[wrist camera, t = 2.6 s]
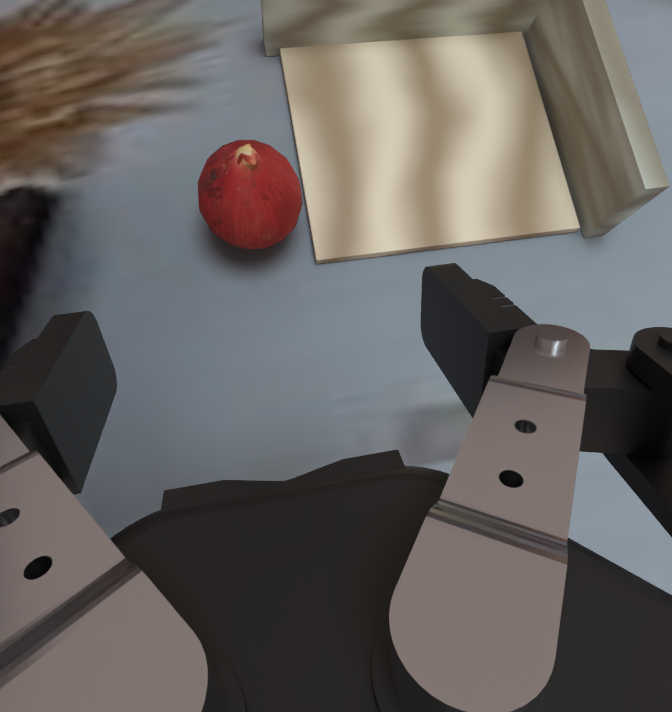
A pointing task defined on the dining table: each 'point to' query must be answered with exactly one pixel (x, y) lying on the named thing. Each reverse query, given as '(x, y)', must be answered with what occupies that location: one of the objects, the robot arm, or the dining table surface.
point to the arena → (459, 121)
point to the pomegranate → (249, 194)
